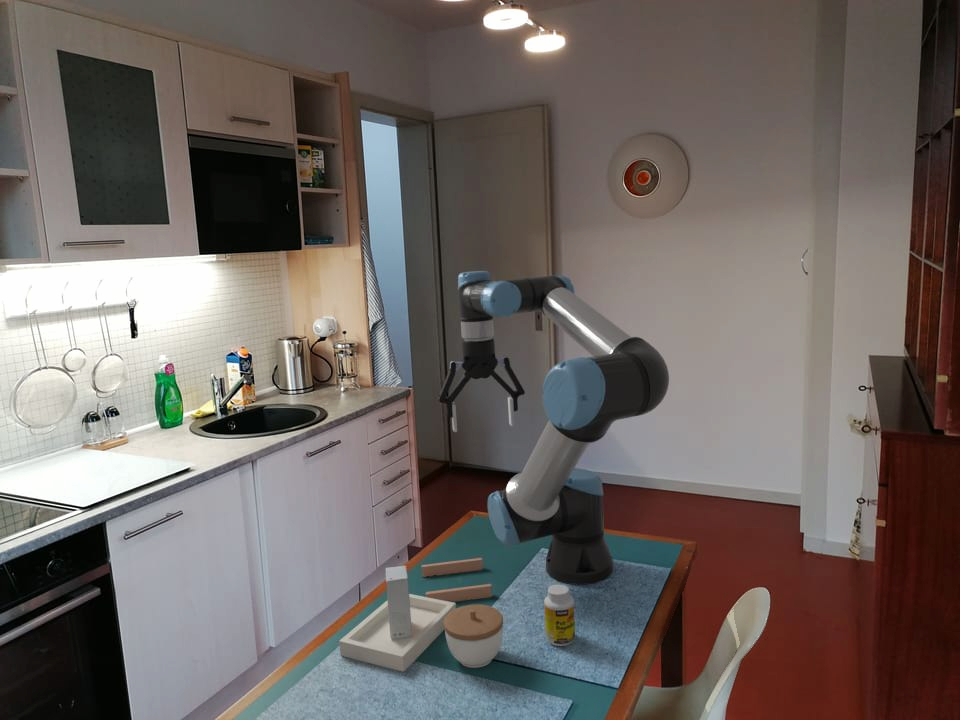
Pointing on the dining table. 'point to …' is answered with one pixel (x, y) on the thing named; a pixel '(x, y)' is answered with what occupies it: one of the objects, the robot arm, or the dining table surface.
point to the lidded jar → (474, 634)
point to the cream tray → (399, 653)
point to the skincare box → (398, 602)
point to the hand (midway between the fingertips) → (483, 427)
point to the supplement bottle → (559, 616)
